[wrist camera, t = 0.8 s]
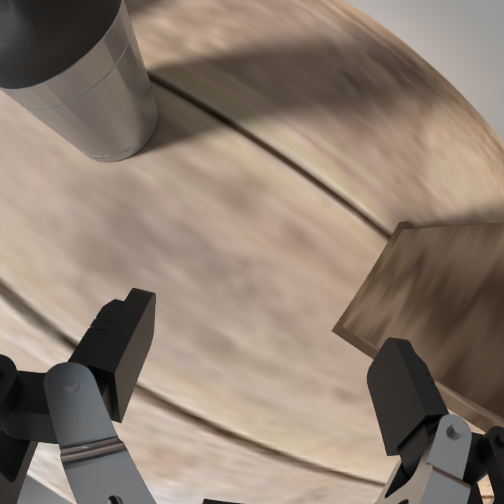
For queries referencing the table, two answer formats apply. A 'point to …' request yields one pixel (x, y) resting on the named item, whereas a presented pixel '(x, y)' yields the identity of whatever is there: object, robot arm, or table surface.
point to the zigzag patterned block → (440, 312)
